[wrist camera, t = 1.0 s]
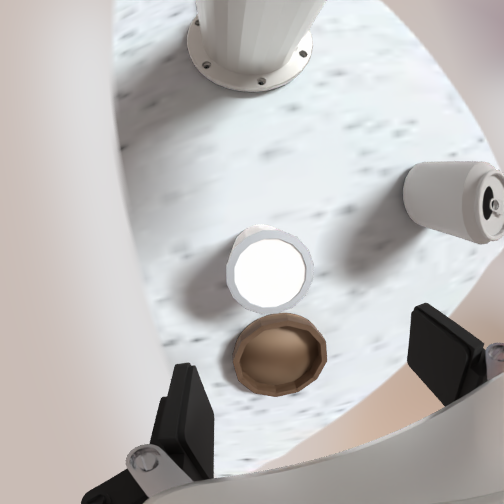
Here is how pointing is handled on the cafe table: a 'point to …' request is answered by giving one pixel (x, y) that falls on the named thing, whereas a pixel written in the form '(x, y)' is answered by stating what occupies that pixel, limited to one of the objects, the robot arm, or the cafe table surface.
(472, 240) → the can
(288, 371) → the round bowl
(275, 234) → the white tapered cylinder
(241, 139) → the cafe table surface
